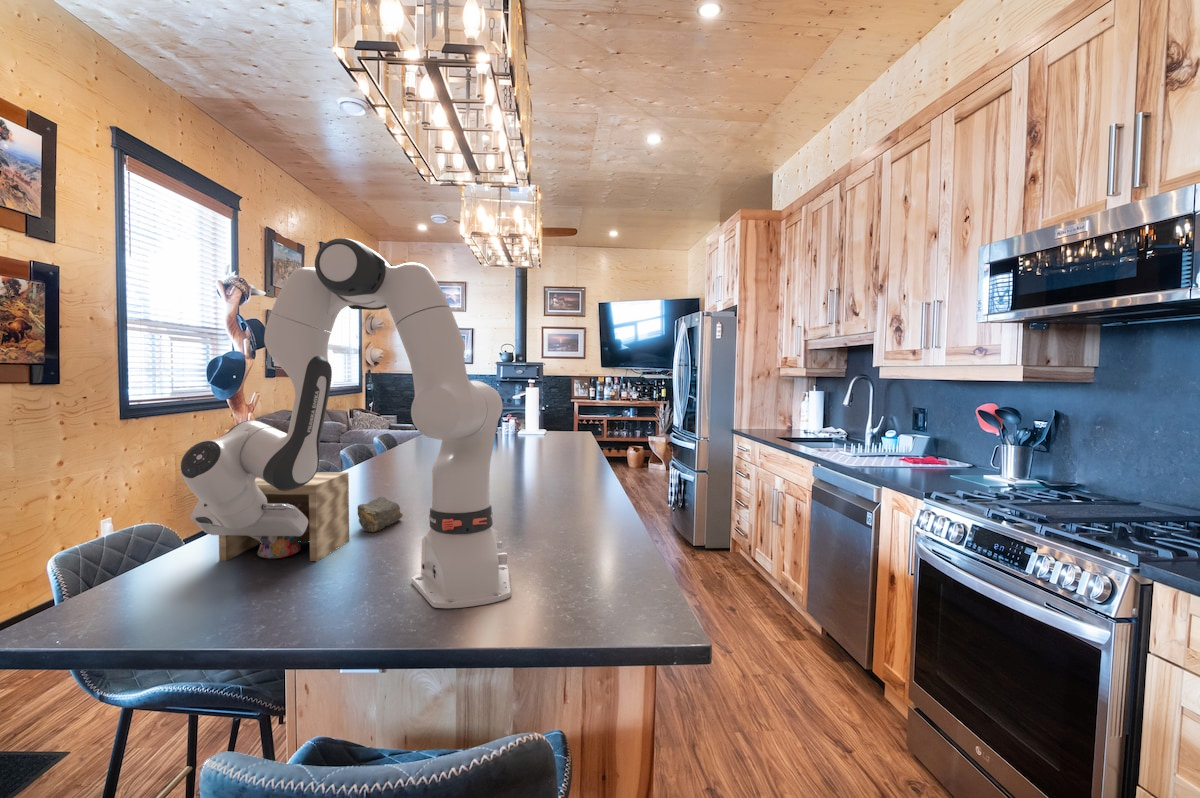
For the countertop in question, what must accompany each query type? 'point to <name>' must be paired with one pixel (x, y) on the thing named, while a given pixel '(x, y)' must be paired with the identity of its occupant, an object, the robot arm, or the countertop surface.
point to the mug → (281, 544)
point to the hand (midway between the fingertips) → (269, 540)
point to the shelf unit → (320, 506)
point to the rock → (378, 514)
